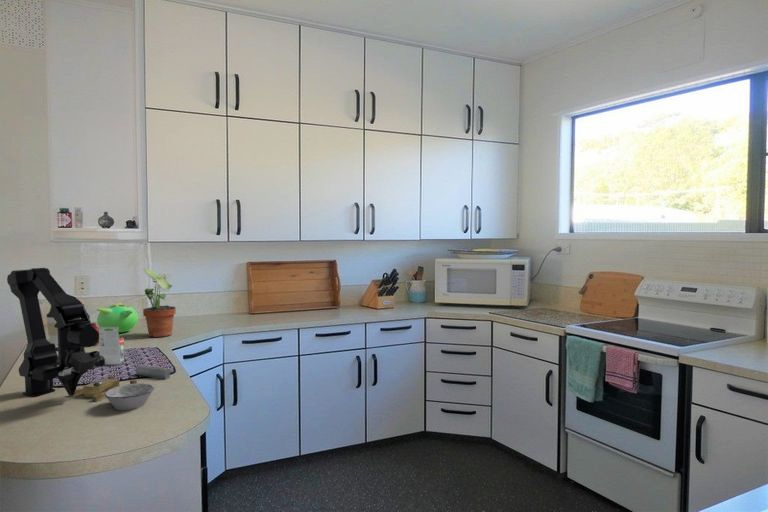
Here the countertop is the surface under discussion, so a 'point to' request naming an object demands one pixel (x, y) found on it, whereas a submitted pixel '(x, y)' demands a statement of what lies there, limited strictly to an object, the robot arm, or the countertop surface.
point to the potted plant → (158, 309)
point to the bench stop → (153, 371)
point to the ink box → (111, 346)
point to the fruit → (96, 329)
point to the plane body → (101, 395)
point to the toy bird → (117, 317)
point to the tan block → (99, 387)
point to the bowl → (129, 395)
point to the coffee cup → (52, 329)
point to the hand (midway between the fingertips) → (71, 395)
